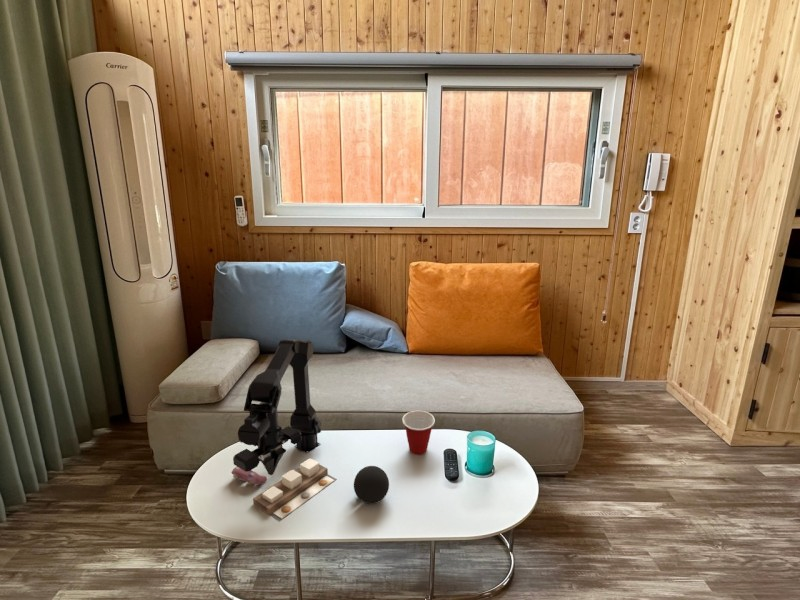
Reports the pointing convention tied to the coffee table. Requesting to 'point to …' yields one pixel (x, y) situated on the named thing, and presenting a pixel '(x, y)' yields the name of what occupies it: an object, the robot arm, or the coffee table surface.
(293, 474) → the button middle
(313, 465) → the button
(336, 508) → the coffee table surface
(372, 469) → the speaker
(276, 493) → the button
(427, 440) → the plastic cup
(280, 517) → the button board
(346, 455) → the coffee table surface
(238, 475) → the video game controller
